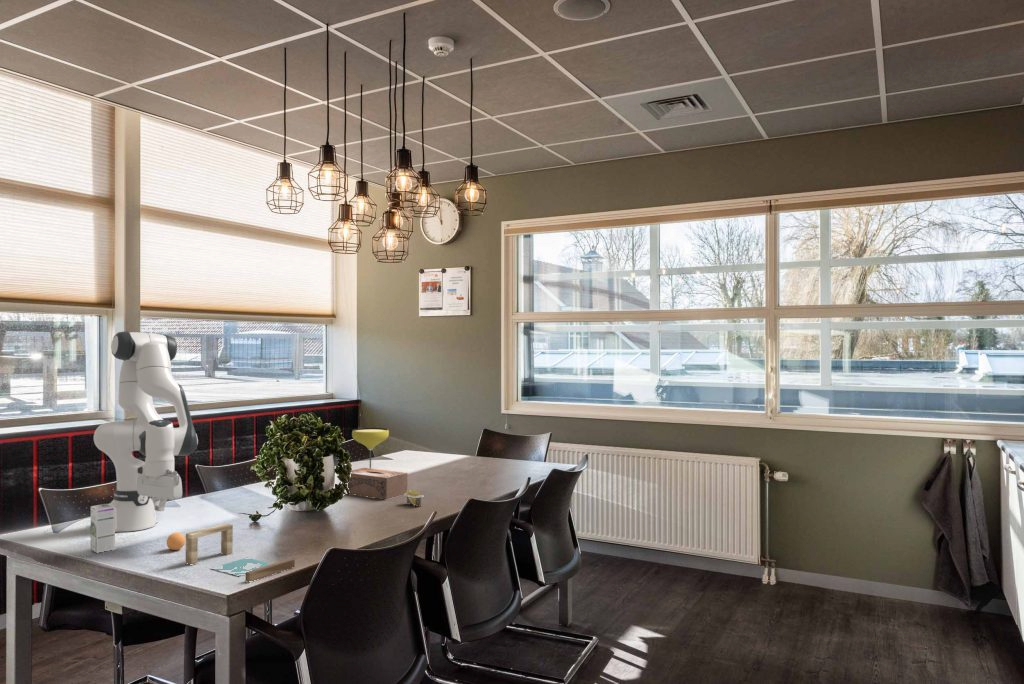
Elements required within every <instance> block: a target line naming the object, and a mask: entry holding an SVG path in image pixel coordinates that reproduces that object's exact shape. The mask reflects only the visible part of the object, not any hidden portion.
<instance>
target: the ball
mask: <svg viewBox="0 0 1024 684" xmlns="http://www.w3.org/2000/svg"><path fill="white" fill-rule="evenodd" d="M184 545H186V536H185V535H184V534H182V533H180V532H174V533H171V534H170V535H168V537H167V539H166V547H167V548H169V550H172V551H178V550H180V549H182V548H183V547H184Z"/></svg>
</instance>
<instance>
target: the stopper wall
mask: <svg viewBox="0 0 1024 684" xmlns="http://www.w3.org/2000/svg"><path fill="white" fill-rule="evenodd" d="M292 567H295V559H294V558H290V557H289V558H287V559H284V560H281V561H278V562H277V561H276V562H274V563H271V565H268V566H264V567H261V568H258V569H255V570H252V571H249V572H246V575H245V582H246V581H253V582H255V581H254V580H256V581H258V580H257V579H259V580H262V579H265V578H268V577H271V576H273V575H272V574H274V575H276V574H275V573H277V574H279V573H278V572H280V573H282V572H281V571H283V572H285V571H284V570H286V571H288V570H287V569H289V570H291V569H290V568H292ZM292 569H293V568H292ZM270 575H271V576H270ZM267 576H268V577H267ZM264 577H265V578H264ZM261 578H262V579H261Z"/></svg>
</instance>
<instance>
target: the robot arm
mask: <svg viewBox="0 0 1024 684" xmlns="http://www.w3.org/2000/svg"><path fill="white" fill-rule="evenodd" d="M110 343H111V344H110V349H111V354H112V355H113V357H114V358H115V359H118V360H121V361H122V364H121V367H120V372H119V379H118V380H119V383H118V401H117V402H118V405H119V407H120V408H121V409H123V410H125V411H127V412H129V413H132V414H135V416H136V417H137V419H136V420H127V421H126V420H122V421H120V420H119V421H111V422H106V423H102V424H99V425H98V427H97V428H96V429H95V430H94V433H93V442H94V445H95V447H96V448H97V449H98V450H99V451H101V452H103V453H104V454H105V455H106V456H108V457H109V459H110V460H111V461H112V463H113V465H114V468H115V476H116V489H115V490H113V492H112V494H113V497H112V498H113V500H112V501H110V503H109V504H110V505H112V506H115V533H116V532H117V533H118V532H132V531H133V532H134V531H141V530H146V529H150V528H152V527H155V525H156V524H157V523H159V518H156V512H164V511H165V505H166V503H167V501H168V500H170V501H175V500H179V499H181V498H182V497H183V484H182V483H183V482H182V478H181V476H180V474H179V473H178V471H176V470H175V456H179V457H185V456H186V457H187V456H190V455H191V454H193V453H194V452H195V451H196V450H197V449H198V444H199V439H198V435H197V433H196V430H195V426H194V423H193V420H192V415H191V412H190V408H189V403H188V400H187V397H186V396H187V395H186V393H185V390H184V388H183V386H182V385H181V384H179V383H178V382H177V381H176V380H175V378H174V377H173V373H172V363H171V362H172V360H174V359H175V358H176V356H177V353H178V343H177V341H176V339H175V337H173V336H171V335H168V334H159V333H154V332H140V331H137V332H136V331H131V332H129V331H119V332H116V334H115V335H113V338H112V340H111V342H110ZM153 398H155V399H159V400H162V401H165V402H167V403H169V404H171V405H172V406H173V408H174V409H175V413H176V418H177V422H178V425H179V427H174V424H173V422H172V421H171V420H168V419H167V420H166V419H163V418H162V417H161V416H160V414H159V413H158V412H157V410H156V408H155V405H154V399H153ZM136 451H138V453H140V454H141V455H142V456H144V457H145V459H144V460H145V461H143V460H141V459H139V458H136V457H135V456H134V455H133V452H136Z"/></svg>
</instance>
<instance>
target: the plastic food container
mask: <svg viewBox="0 0 1024 684" xmlns="http://www.w3.org/2000/svg"><path fill="white" fill-rule="evenodd" d="M403 496H404V497H406V504H407V503H410V504H413V505H412V506H413V507H415V505H420V506H422V498H424V497H425V496H424V494H420V491H417V490H411V489H409V490H407V493H404V495H403ZM410 504H409V505H410ZM420 506H419V507H420Z"/></svg>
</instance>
